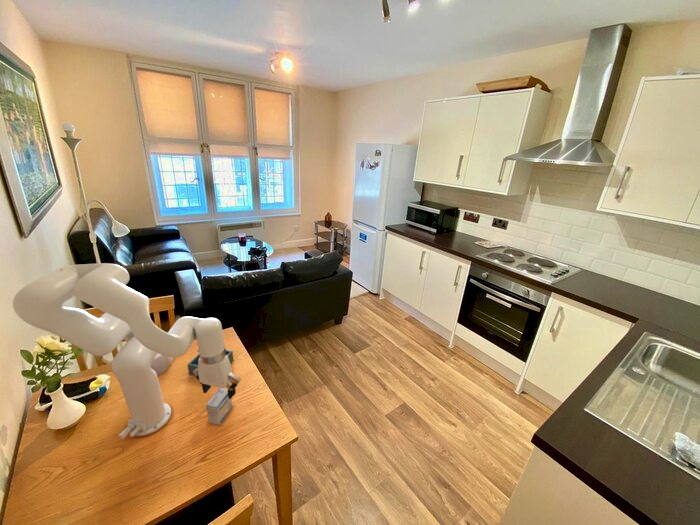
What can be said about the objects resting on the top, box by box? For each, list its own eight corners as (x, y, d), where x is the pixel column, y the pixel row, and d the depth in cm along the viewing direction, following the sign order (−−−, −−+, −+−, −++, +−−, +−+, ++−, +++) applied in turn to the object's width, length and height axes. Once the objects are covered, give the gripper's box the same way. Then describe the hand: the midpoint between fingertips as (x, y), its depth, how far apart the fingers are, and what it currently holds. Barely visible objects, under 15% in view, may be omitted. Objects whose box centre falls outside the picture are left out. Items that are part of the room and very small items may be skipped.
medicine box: (219, 425, 100) (217, 407, 97) (208, 422, 101) (205, 404, 97) (232, 407, 107) (230, 389, 104) (222, 404, 108) (219, 387, 105)
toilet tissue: (177, 355, 130) (174, 339, 127) (161, 377, 118) (157, 360, 115) (156, 354, 129) (152, 339, 126) (138, 376, 117) (133, 360, 114)
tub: (215, 380, 118) (214, 370, 116) (189, 374, 120) (187, 364, 118) (233, 359, 130) (232, 350, 128) (208, 354, 132) (207, 345, 130)
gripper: (181, 357, 91) (190, 396, 98) (230, 367, 89) (236, 407, 95) (197, 342, 98) (204, 380, 105) (243, 351, 95) (247, 389, 102)
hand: (219, 393), depth 100 cm, fingers open, 9 cm apart
